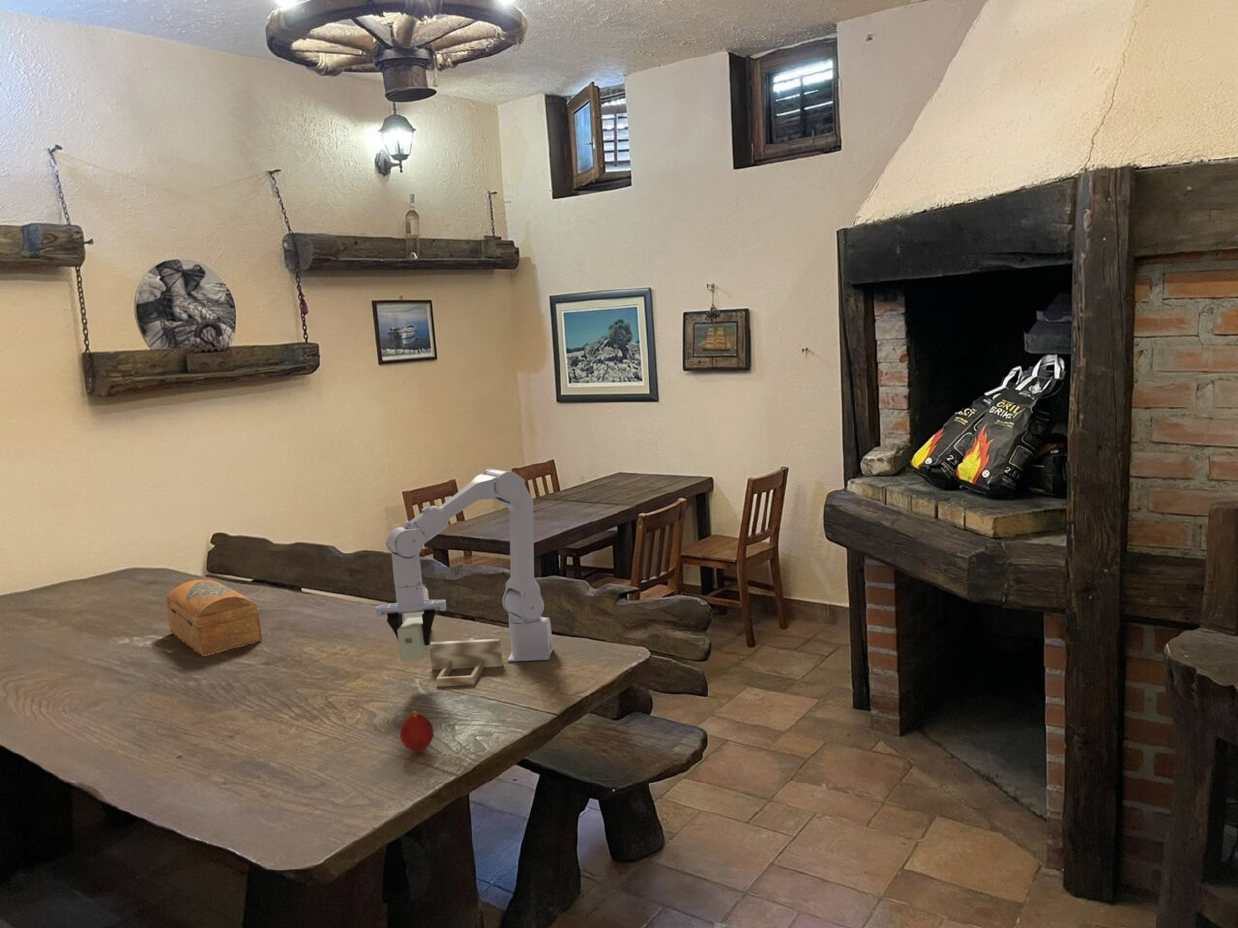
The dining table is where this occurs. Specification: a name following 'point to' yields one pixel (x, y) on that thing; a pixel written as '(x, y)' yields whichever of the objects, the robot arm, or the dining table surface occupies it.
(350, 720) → the dining table surface
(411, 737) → the onion
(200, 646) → the wooden box
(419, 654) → the cabinet block
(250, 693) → the dining table surface
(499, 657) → the wall board
